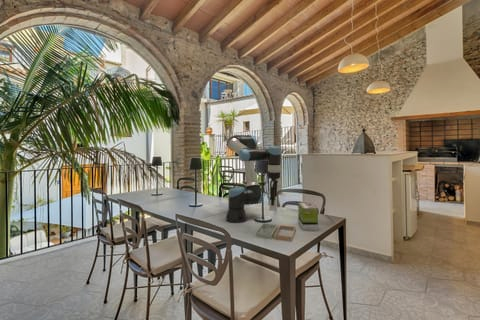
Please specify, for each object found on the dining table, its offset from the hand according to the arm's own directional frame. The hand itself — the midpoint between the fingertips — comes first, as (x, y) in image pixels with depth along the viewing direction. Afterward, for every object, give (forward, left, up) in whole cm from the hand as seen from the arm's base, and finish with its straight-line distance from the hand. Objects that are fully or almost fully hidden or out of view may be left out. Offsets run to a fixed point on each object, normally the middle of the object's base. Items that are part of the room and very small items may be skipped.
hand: (273, 209), depth 151 cm
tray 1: (-4, -1, -15) cm, 15 cm away
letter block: (0, 0, 0) cm, 0 cm away
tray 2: (+8, -1, -15) cm, 17 cm away
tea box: (+19, +19, -15) cm, 31 cm away
